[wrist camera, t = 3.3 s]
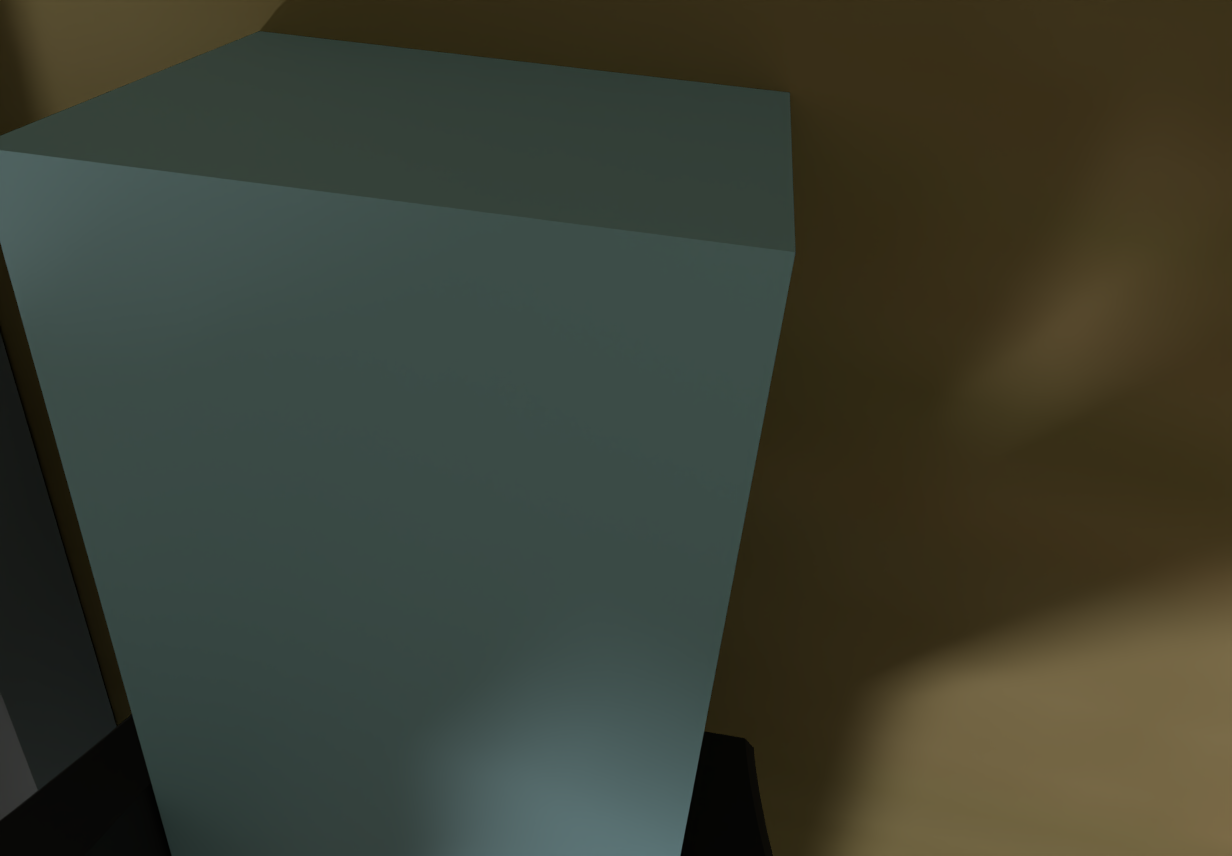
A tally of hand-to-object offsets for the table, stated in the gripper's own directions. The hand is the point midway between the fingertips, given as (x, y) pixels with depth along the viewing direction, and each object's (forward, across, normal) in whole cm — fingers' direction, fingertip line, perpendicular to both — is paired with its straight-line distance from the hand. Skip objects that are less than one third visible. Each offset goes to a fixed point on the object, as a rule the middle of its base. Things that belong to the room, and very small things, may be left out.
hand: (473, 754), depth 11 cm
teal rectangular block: (+2, 0, 0) cm, 2 cm away
